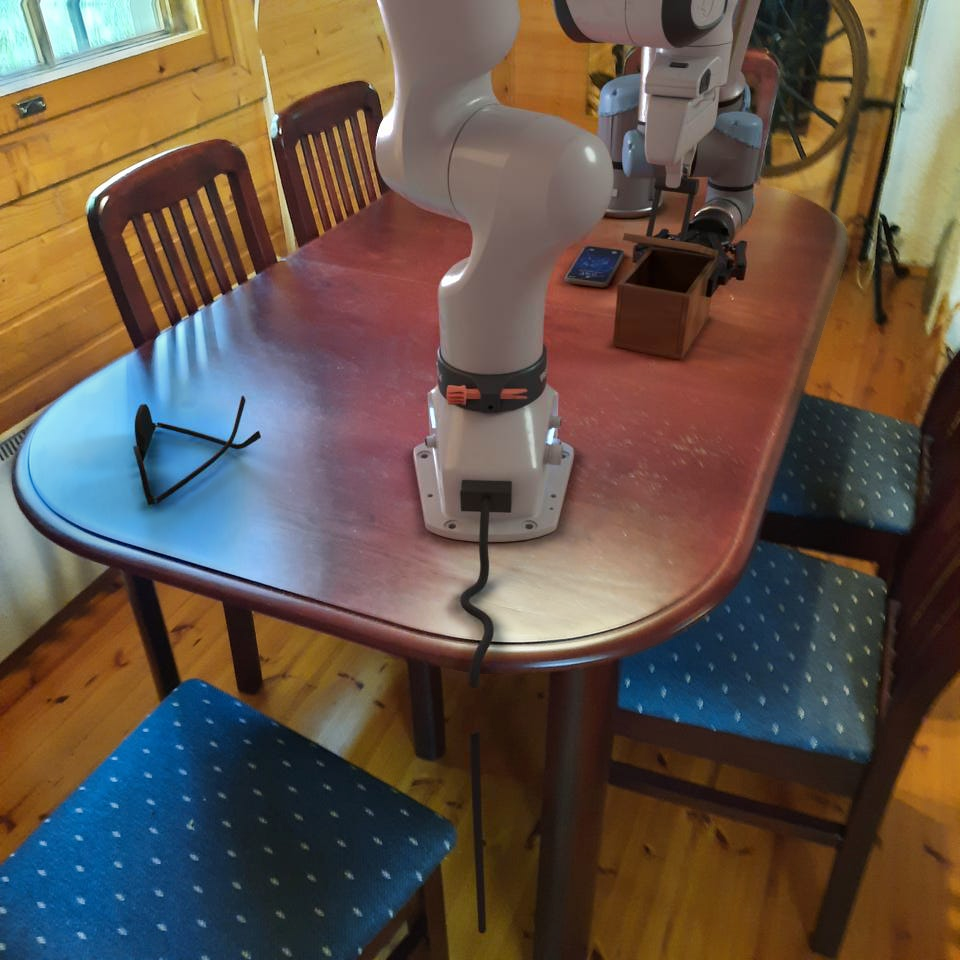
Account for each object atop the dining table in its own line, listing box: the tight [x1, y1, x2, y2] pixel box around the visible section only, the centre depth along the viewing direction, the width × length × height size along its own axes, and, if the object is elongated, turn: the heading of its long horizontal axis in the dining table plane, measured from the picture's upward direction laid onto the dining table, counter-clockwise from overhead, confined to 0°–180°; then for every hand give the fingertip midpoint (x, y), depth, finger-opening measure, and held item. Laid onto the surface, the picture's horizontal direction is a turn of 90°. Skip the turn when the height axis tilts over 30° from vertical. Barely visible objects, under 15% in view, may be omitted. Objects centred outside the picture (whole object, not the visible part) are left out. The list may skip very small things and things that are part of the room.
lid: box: [622, 174, 718, 257], centre depth 117 cm, size 15×10×9 cm, turn 153°
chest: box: [612, 248, 717, 361], centre depth 123 cm, size 15×10×10 cm
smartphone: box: [564, 245, 625, 288], centre depth 144 cm, size 7×1×15 cm
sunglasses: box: [132, 395, 262, 506], centre depth 100 cm, size 17×14×5 cm
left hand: (677, 182), depth 112 cm, fingers closed
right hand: (672, 282), depth 124 cm, fingers closed on chest, 10 cm apart
